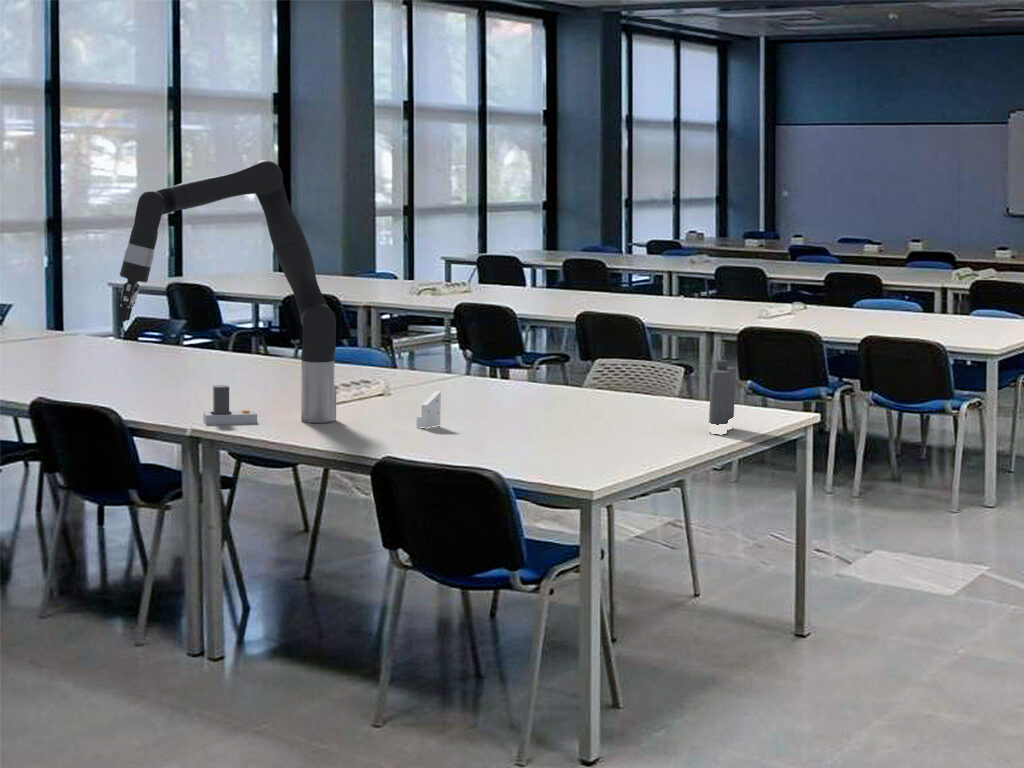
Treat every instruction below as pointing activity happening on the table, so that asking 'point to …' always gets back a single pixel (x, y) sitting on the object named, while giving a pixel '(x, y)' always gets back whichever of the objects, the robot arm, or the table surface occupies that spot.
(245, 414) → the power strip
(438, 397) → the white angled block
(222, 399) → the plug
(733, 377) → the flask
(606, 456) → the table surface
